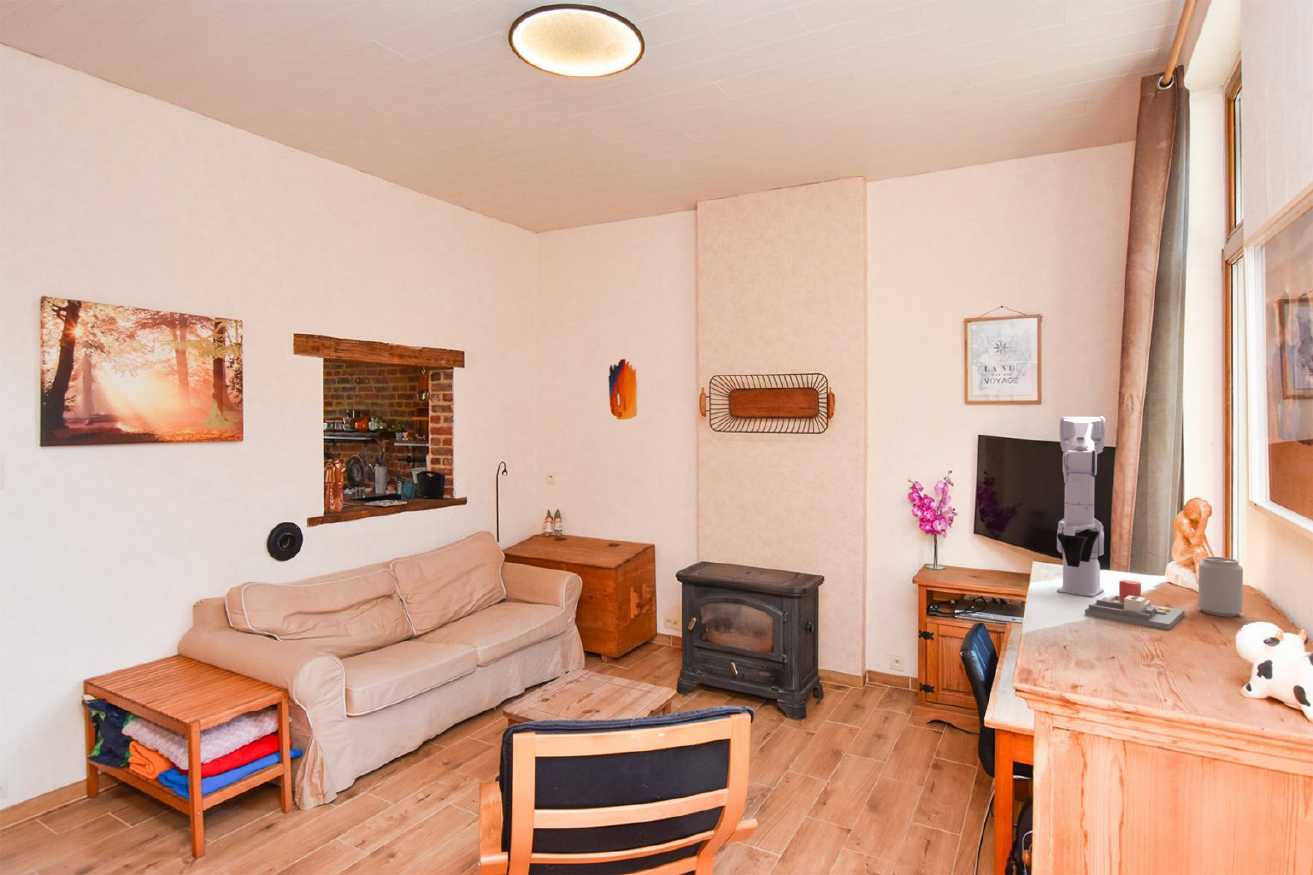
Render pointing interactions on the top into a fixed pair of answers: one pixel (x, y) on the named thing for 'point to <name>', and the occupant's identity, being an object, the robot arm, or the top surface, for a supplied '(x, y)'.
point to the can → (1220, 586)
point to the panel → (1135, 613)
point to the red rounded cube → (1129, 589)
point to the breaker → (1135, 604)
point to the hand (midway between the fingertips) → (1078, 563)
